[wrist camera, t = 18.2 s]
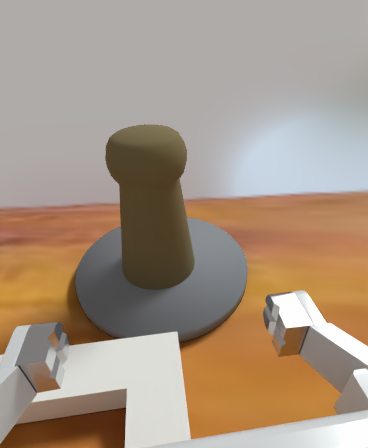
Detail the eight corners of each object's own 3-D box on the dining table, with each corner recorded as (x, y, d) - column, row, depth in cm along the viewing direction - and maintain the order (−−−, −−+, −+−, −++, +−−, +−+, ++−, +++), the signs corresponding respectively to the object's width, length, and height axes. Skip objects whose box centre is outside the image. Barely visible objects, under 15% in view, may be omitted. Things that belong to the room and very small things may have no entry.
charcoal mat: (60, 359, 18) (55, 350, 17) (91, 231, 29) (89, 223, 29) (273, 330, 19) (275, 321, 19) (223, 218, 31) (223, 210, 30)
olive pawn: (108, 282, 22) (72, 141, 16) (139, 236, 27) (120, 115, 21) (183, 296, 21) (176, 148, 14) (202, 245, 25) (202, 117, 19)
